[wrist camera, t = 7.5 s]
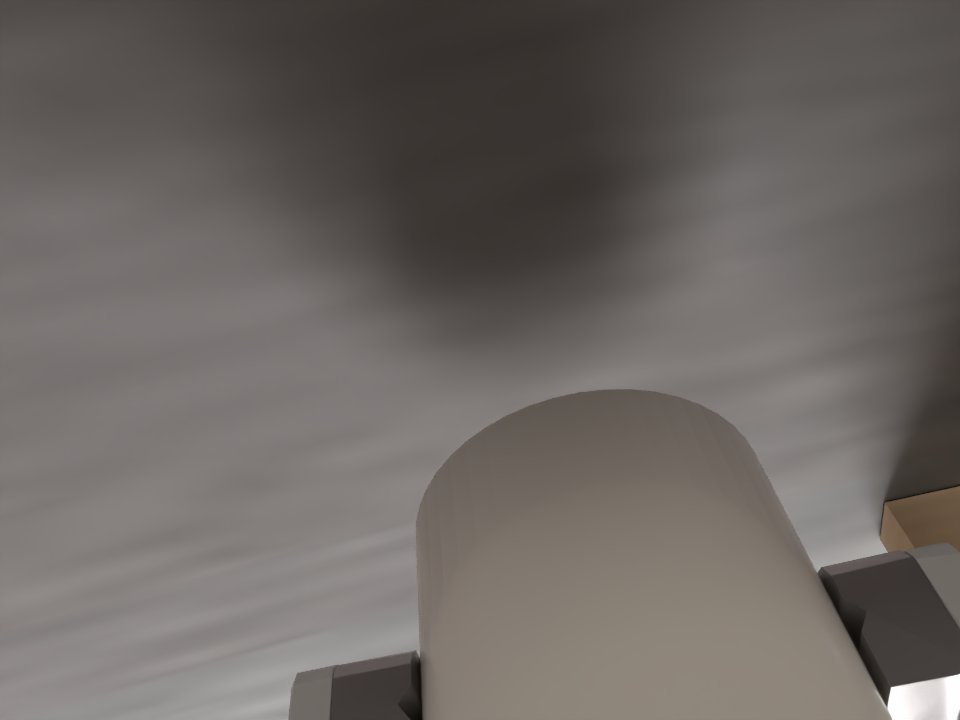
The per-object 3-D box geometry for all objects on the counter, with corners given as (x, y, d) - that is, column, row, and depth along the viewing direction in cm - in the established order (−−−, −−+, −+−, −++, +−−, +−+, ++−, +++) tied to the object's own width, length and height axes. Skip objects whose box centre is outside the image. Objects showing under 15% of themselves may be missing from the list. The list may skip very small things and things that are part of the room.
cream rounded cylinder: (356, 585, 12) (338, 1045, 8) (535, 332, 10) (651, 798, 5) (629, 661, 14) (736, 1069, 10) (837, 464, 12) (1104, 892, 7)
